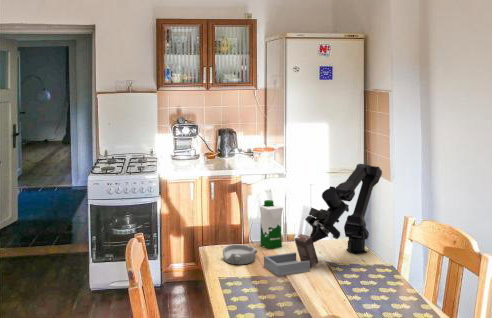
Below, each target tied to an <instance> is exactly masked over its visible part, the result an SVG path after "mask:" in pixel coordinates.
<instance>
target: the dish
mask: <svg viewBox="0 0 492 318" xmlns="http://www.w3.org/2000/svg"><path fill="white" fill-rule="evenodd" d="M257 253H258V249H257V248H255V247H254V246H249V245H247V244H242V243H241V244H240V243H235V244H234V243H233V244H228V245H227V246H224V247H223V249H222V256H223V259H224V261H225V262H226V263H228V264H232V265H238V266H239V265H248V264H250V263H253V262H254V261H255V259H256V254H257Z"/></svg>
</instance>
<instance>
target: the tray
mask: <svg viewBox="0 0 492 318" xmlns="http://www.w3.org/2000/svg"><path fill="white" fill-rule="evenodd" d="M263 267H264V268H265V269H267V270H268V271H270V272H271V273H272V274H274V275H276V276H277V277H282V276H289V275H295V274H302V273H308V272H311V267H310V261H309V260H308V261H301V260H300V261H298V260H297V253H296V252H288V253H280V254H273V255H268V256H267V255H265V256H263Z"/></svg>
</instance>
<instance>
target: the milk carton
mask: <svg viewBox="0 0 492 318" xmlns="http://www.w3.org/2000/svg"><path fill="white" fill-rule="evenodd" d="M263 202H264V203H263V204H262V205H259V212H260V246H262V247H263V248H266V249H267V250H271V249H277V248H282V247H283V243H282V242H283V241H282V240H283V239H282V215H283V209H284V207H283V206H281V205H278V204H275V203H274V200H272V199H266V200H264V201H263Z"/></svg>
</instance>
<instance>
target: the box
mask: <svg viewBox="0 0 492 318" xmlns="http://www.w3.org/2000/svg"><path fill="white" fill-rule="evenodd" d="M294 243H295V246H296V249H297V253H298V256H299V261H300V262H301V261H308V260H309V261H310V269H313V268H314V267H315V266H316V265H317V264H319V259H318V255H317V252H316V248H315V245H314V243H313V240H312V237H310V235H306V234H302V233H300V234H299V235H298V236H296V237H295V238H294Z"/></svg>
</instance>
